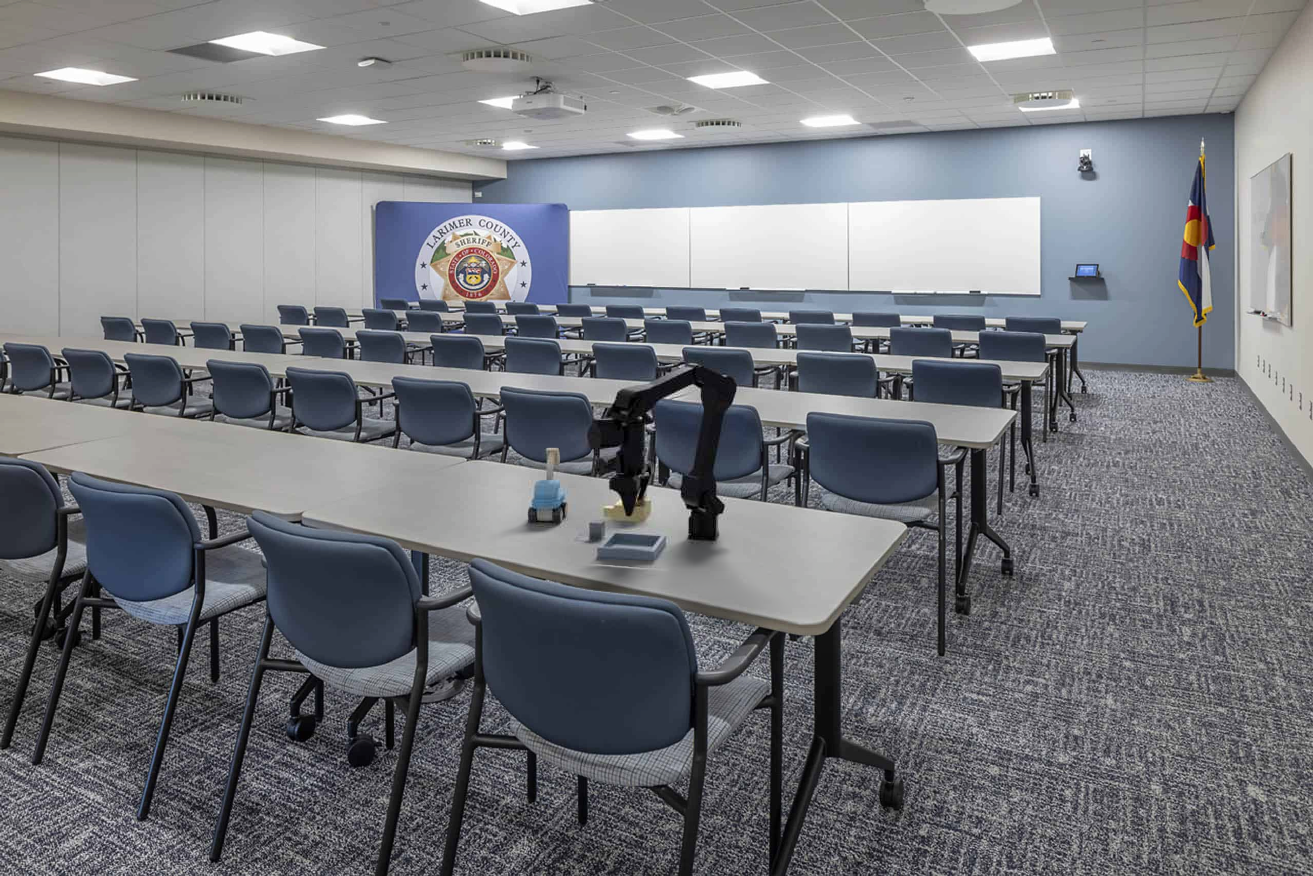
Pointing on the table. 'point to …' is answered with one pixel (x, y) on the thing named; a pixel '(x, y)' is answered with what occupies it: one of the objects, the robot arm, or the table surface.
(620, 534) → the tray
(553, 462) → the toy excavator
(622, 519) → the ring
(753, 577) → the table surface
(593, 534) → the grey peg base
